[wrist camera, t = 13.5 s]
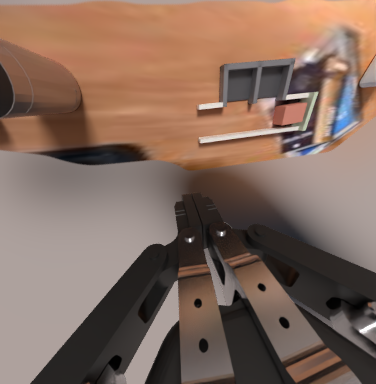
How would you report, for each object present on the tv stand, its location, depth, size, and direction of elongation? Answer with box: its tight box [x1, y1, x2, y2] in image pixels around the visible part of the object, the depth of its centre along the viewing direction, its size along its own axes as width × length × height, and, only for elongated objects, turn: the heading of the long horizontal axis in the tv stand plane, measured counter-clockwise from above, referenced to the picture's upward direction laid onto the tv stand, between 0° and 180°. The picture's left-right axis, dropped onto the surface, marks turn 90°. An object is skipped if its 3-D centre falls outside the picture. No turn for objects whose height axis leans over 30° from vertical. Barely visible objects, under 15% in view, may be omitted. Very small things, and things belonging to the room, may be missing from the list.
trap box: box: [197, 58, 318, 143], centre depth 36 cm, size 30×16×4 cm, turn 95°
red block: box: [273, 103, 307, 125], centre depth 39 cm, size 6×4×4 cm
